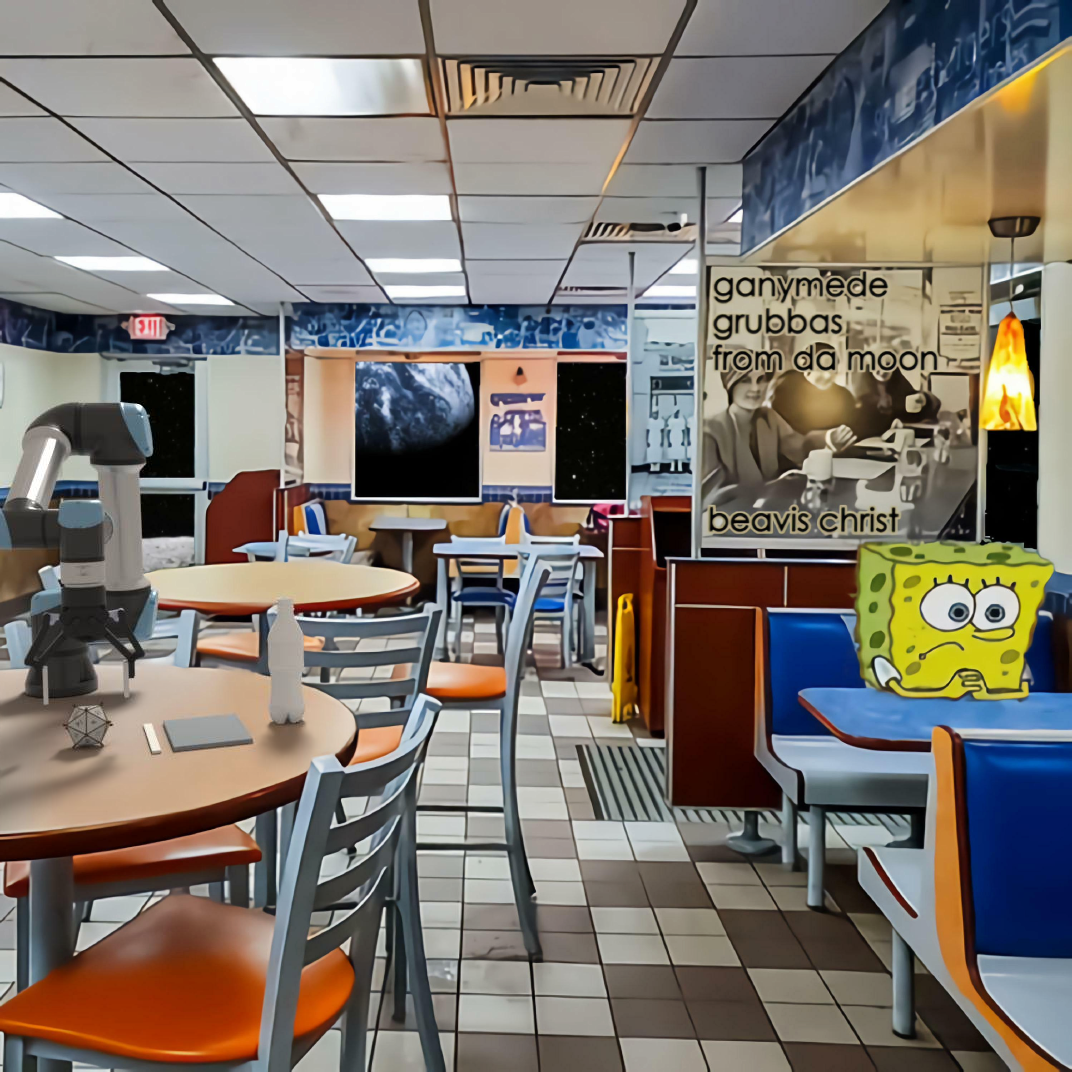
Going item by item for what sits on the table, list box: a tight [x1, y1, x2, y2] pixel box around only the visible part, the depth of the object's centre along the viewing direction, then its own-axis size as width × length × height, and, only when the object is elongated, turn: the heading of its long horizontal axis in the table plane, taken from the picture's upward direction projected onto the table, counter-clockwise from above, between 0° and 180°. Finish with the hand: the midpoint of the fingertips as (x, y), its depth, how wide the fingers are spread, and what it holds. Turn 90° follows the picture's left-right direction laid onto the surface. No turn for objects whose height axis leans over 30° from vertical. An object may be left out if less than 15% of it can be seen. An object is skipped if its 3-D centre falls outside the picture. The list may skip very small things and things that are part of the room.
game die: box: [61, 700, 114, 750], centre depth 194 cm, size 9×8×10 cm
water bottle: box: [267, 596, 306, 725], centre depth 212 cm, size 7×7×25 cm
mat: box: [163, 713, 254, 752], centre depth 203 cm, size 20×14×1 cm
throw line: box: [143, 722, 162, 755], centre depth 199 cm, size 20×2×1 cm, turn 25°
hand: (86, 699), depth 193 cm, fingers open, 13 cm apart
